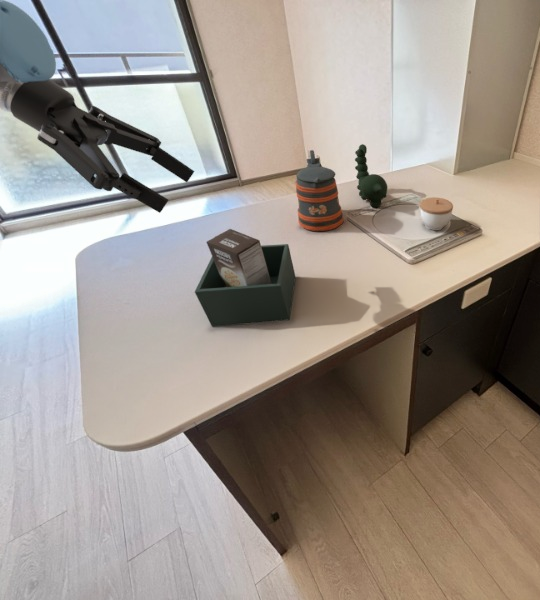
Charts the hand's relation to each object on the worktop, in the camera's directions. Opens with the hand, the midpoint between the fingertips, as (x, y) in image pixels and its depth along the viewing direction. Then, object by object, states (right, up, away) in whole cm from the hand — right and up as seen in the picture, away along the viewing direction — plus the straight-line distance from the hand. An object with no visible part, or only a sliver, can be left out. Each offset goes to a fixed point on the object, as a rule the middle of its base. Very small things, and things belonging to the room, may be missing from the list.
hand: (178, 190), depth 60 cm
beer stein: (+13, +8, +52) cm, 54 cm away
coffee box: (+6, -20, +18) cm, 27 cm away
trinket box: (+52, +5, +50) cm, 73 cm away
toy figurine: (+29, +18, +64) cm, 73 cm away
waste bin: (+6, -20, +19) cm, 28 cm away
